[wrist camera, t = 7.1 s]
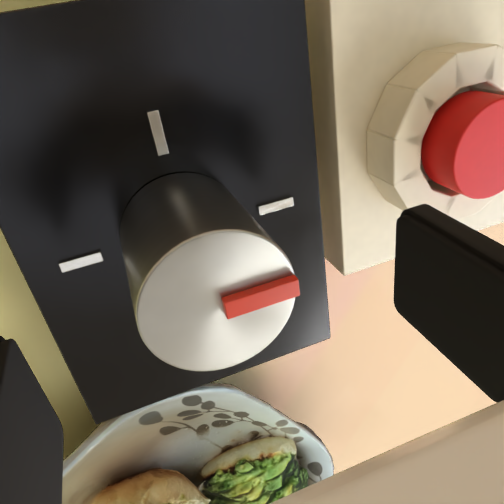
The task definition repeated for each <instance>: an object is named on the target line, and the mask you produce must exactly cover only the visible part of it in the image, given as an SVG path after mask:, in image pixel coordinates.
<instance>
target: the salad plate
mask: <svg viewBox="0 0 504 504" xmlns="http://www.w3.org/2000/svg"><path fill="white" fill-rule="evenodd" d="M333 475H334V465H333V460H332V457H331V455H330V453H329V451H328V450H327V448H326V447H325V445H324V443H323V442H322V440H321V439H320V438H319V437H318V436H317V435H316V434H315V433H314V432H313V431H312V430H311V429H310V428H309V427H307V426H306V425H304V424H302V423H298V422H295V421H293V420H291V419H290V418H288V417H287V416H286V415H284V414H282V413H281V412H280V411H278V410H277V409H275V408H273V407H272V406H271V405H270V404H268V403H267V402H265V401H263V400H261V399H258V398H256V397H254V396H252V395H250V394H247V393H245V392H243V391H242V390H241V389H239V388H237V387H235V386H233V385H229V384H221V383H207V384H205V385H202V386H199V387H197V388H194V389H191V390H188V391H186V392H183V393H180V394H178V395H175V396H172V397H170V398H167V399H164V400H161V401H159V402H156V403H153V404H151V405H148V406H145V407H142V408H140V409H137V410H134V411H132V412H129V413H126V414H124V415H121V416H118V417H115V418H113V419H110V420H107V421H105V422H102V423H101V424H100V425H99V426H98V427H97V428H96V429H95V430H94V431H93V432H92V433H91V434H90V435H89V436H88V437H87V438H86V439H85V440H84V441H83V442H82V443H81V444H80V445H79V446H78V447H77V448H76V449H75V450H74V452H73V453H72V454H70V455H69V456H68V457H67V458H66V459H65V460H63V481H62V504H270V503H272V502H274V501H276V500H279V499H281V498H283V497H285V496H288V495H290V494H292V493H294V492H297V491H299V490H301V489H303V488H306V487H308V486H310V485H312V484H315V483H317V482H319V481H321V480H324V479H326V478H328V477H330V476H333Z"/></svg>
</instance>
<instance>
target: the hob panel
mask: <svg viewBox="0 0 504 504" xmlns="http://www.w3.org/2000/svg"><path fill="white" fill-rule="evenodd" d="M176 173H196V174H200V175H204V176H207V177H210V178H212V179H214V180H216V181H217V182H219V183H220V184H222V185H223V186H224V187H225V188H226V189H227V190H228V191H229V192H230V193H231V194H232V195H233V196H234V197H235V198H236V199H237V201H238V202H239V203H240V204H241V205H242V206H243V207H244V208H245V209H246V210H247V212H248V213H249V214H250V215H251V216H252V217H253V218H254V219H255V220H256V222H257V223H258V224H259V225H260V226H261V227H262V228H263V229H264V230H265V231H266V233H267V234H268V235H269V236H270V237H271V238H272V239H273V240H274V241H275V243H276V244H277V245H278V246H279V247H280V248H281V249H282V250H283V252H284V253H285V254H286V256H287V257H288V259H289V261H290V263H291V265H292V268H293V270H294V274H295V276H296V277H297V278H298V280H299V289H300V296H297V297H295V301H294V306H293V309H292V312H291V314H290V317H289V319H288V320H287V322H286V324H285V326H284V327H283V329H282V330H281V332H280V333H279V334H278V335H277V337H276V338H275V339H274V340H273V341H272V342H271V343H270V344H269V345H268V346H267V347H265V348H264V349H263V350H262V351H261V352H259V353H258V354H256V355H255V356H253V357H252V358H250V359H248V360H246V361H244V362H242V363H239V364H237V365H235V366H232V367H228V368H225V369H220V370H215V371H189V370H184V369H180V368H177V367H174V366H172V365H169V364H167V363H166V362H164V361H162V360H161V359H159V358H158V357H157V356H155V355H154V354H153V353H152V352H151V351H150V350H149V349H148V348H147V346H146V345H145V343H144V342H143V340H142V338H141V336H140V334H139V331H138V327H137V324H136V319H135V314H134V309H133V304H132V299H131V294H130V288H129V283H128V278H127V273H126V268H125V263H124V258H123V253H122V248H121V243H120V225H121V220H122V217H123V214H124V211H125V209H126V208H127V206H128V204H129V202H130V201H131V200H132V198H133V197H134V196H135V195H136V194H137V193H138V192H139V191H140V190H141V189H142V188H143V187H145V186H146V185H147V184H149V183H151V182H152V181H154V180H156V179H158V178H160V177H163V176H167V175H170V174H176ZM0 229H1V231H2V233H3V235H4V237H5V239H6V241H7V243H8V245H9V247H10V249H11V251H12V253H13V255H14V257H15V259H16V261H17V264H18V266H19V268H20V270H21V272H22V274H23V276H24V278H25V280H26V282H27V284H28V286H29V288H30V290H31V292H32V294H33V296H34V298H35V300H36V303H37V305H38V307H39V309H40V311H41V313H42V315H43V317H44V319H45V321H46V323H47V325H48V327H49V329H50V331H51V333H52V335H53V337H54V339H55V342H56V344H57V346H58V348H59V350H60V352H61V354H62V356H63V358H64V360H65V362H66V364H67V366H68V368H69V370H70V372H71V374H72V376H73V378H74V381H75V383H76V385H77V387H78V389H79V391H80V393H81V395H82V397H83V399H84V401H85V403H86V405H87V407H88V409H89V411H90V413H91V415H92V418H93V420H94V422H95V423H96V424H99V423H102V422H105V421H107V420H110V419H113V418H115V417H118V416H121V415H124V414H126V413H129V412H132V411H134V410H137V409H140V408H142V407H145V406H148V405H151V404H153V403H156V402H159V401H161V400H164V399H167V398H170V397H172V396H175V395H178V394H180V393H183V392H186V391H188V390H191V389H194V388H197V387H199V386H202V385H205V384H207V383H210V382H213V381H216V380H218V379H221V378H224V377H226V376H229V375H232V374H234V373H237V372H240V371H243V370H245V369H248V368H251V367H253V366H256V365H259V364H262V363H264V362H267V361H270V360H272V359H275V358H278V357H280V356H283V355H286V354H289V353H291V352H294V351H297V350H299V349H302V348H305V347H308V346H310V345H313V344H316V343H318V342H321V341H324V340H326V339H329V338H330V325H329V312H328V299H327V285H326V272H325V259H324V246H323V233H322V220H321V207H320V194H319V181H318V168H317V155H316V142H315V129H314V116H313V103H312V90H311V77H310V64H309V51H308V38H307V25H306V12H305V0H75V1H69V2H63V3H57V4H50V5H44V6H38V7H32V8H25V9H19V10H13V11H7V12H0Z"/></svg>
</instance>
